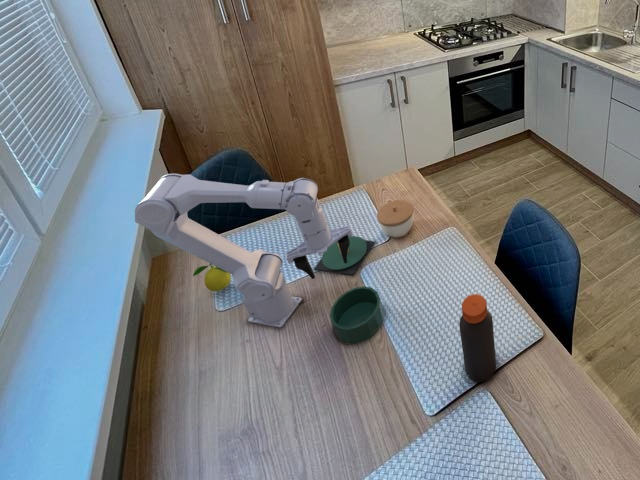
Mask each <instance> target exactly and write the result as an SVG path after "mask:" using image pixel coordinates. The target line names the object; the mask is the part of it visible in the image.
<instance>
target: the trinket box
mask: <svg viewBox="0 0 640 480" xmlns="http://www.w3.org/2000/svg"><path fill="white" fill-rule="evenodd" d="M414 212H415V211H414V206H413V203H411V202H409V201H408V200H404V199H395V200H391V201H388V202H386V203H385V204H383V205H382V206H381V207H380V208H379V209H378V211H377V212H376V219H377V221H378V224H379V227H380V229H381V231H382V232H383V234H385V235H386V236H388V237H391V238H394V239H398V238H402V237H404V236H406V235H407V234H408V233H409V231H410V230H411V229H412V227H413V225H414V220H415V213H414Z"/></svg>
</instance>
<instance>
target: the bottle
mask: <svg viewBox="0 0 640 480" xmlns="http://www.w3.org/2000/svg"><path fill="white" fill-rule="evenodd" d="M461 312H462V314H461V316H460V318H459V323H458V324H459V335H460V342H461V349H462V358H463V363H464V371H465V373H466V376H467V377H468V378H469V379H470V380H471V381H473V382H475V383H484V382H486V381H488V380H490V379H491V377H493V375H494V374H495V372H496V368H497V360H496V359H497V357H496V345H495V333H494V331H495V330H494V322H493V321H494V320H493V315H492V314H491V312H490V311H489V310H488V304H487V300H486V298H485V297H484V296H483V295H481V294H478V293H473V294H470V295H468V296H466V297H465V298H464V299H463V301H462V303H461ZM468 375H469V376H468Z"/></svg>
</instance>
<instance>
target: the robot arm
mask: <svg viewBox="0 0 640 480" xmlns="http://www.w3.org/2000/svg"><path fill="white" fill-rule="evenodd" d="M318 191H319V187H318V184H317V183H316V181H314V180H313V179H310V178H305V177H299V178H297V179H295V180H293V181H292V180H291V181H288V182H284V181H283V182H281V181H280V182H279V181H269V179H262V180H257V181H255V182H253V183H251V184H250V185H245V184H236V183H228V182H219V181H213V180H212V181H211V180H202V179H198V178H197V177H195V176H194V175H192V174H180V173H167V174H165V175H162V176H161V177H160V178H159V179H158V180H157V182H156V184H155V185H153V187H152V188H151V189H150V191H148V193H147V195H146V196H145V197H144V198H143V199H142V200H141V201H140V202H138V204H137V205H136V206H135V209H134V222H135V223H136V224H138V225H140V226H142V227H144V228H146V229H147V230H150V232H152V234H153V235H154V236H155V237H157V238H159V239H160V240H163V241H165V242H166V243H169V244H170V245H173V246H174V247H177V249H180V250H183V251H185V252H187V253H188V254H191V255H192V256H194V257H196V258H198V259H200V260H202V261H204V262H206V263H208V264H211V265H212V266H214V267H215V266H216V267H218V268H220V269H222V270H224V271H226V272H228V273H230V275H231V277H232V280H233V284H234V289H235V290H236V291H238V292H240V293H242V301H243V304H244V306H245V308H246V310H247V312H248V314H249V318H248V319H247V321H248V322H249V323H254V324H258V325H264V326H269V327H275V328H283V326H284V325H285V323H286V322H287V321H288V319H289V318H290V317H291V316H292V314H293V313H294V312H295V310H296V309H297V307H298V306H299V305H300V303H301V302H302V300H303V299H302V297H298V296H293V295H292V294H291V291H290V288H289V286H288V283H287V281H286V278H285V276H284V275H283V273H282V270H281V268H282V266H283V263H284V260H283V257H282V256H281V255H280V254H278V253H275V252H271V251H266V250H264V249H262V248H258V249H255V250H252V251H249V250H248V249H246V248H244V247H242V246H241V245H238V244H237V243H235V242H233V241H231V240H229V239H227V238H226V237H223V236H222V235H220V234H218V233H217V232H214V231H213V230H211V229H210V228H208V227H206V226H204V225H203V224H200V223H198V222H197V221H195V220H192V219H191V218H189V217H188V212H189V211H191V210H193V208H195V207H197V206H198V205H200V204H207V203H208V204H209V203H210V204H211V203H212V204H214V203H215V204H216V203H217V204H218V203H219V204H220V203H222V204H223V203H245V204H247V205H248V207H250V208H251V209H266V210H267V209H268V210H270V209H271V210H285V211H286V212H287V213H288V214H290V215H291V216H293V217H294V220H295V222H296V225H297V227H298V230H299V232H300V235H301V237H302V240H303V241H302V242H300V243H299V244H298V245H296V246H295V247H294V248H292V249H291V250H288V251H287V252H285V253H284V254H285V259H286V261H287V263H288V265H290V264H293V263H294V265H295V268H296V269H297V270H300V271H302V272H304V273H305V274H307V275H308V276H309V278H311V280H314V279H315V278H316V275H315V272H314V268H312V266H311V263H310V262H309V259H308V257H307V256H310V255H315V254H317V255H318V256H321V255H323V253H325V252H327V248H328V247H330V246H331V245H332V244H334V243H335V242H337V241H338V244H339V247H340V251H341V255H342V258H343V261H344V263H347V251H348V248H349V245H350V241H349V238H348V237H350V236H353V231H352V228H351V227H350V225H349V224H348V225H346V226H341V227H338V228H334V229H330V228H329V225H328V223H327V219H326V216H325V214H324V211H323V208H322V206H321V204H320V201H319V198H318V197H317V195H318Z"/></svg>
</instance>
